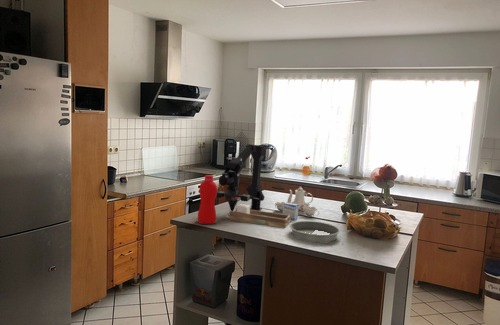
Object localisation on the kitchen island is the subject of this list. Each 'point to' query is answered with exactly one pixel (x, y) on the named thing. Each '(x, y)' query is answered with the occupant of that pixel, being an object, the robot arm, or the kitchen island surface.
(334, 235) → the cake pan
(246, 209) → the cream block
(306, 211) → the chinaware
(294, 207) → the medicine box
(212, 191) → the water bottle
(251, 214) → the light wood shallow tray
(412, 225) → the kitchen island surface
